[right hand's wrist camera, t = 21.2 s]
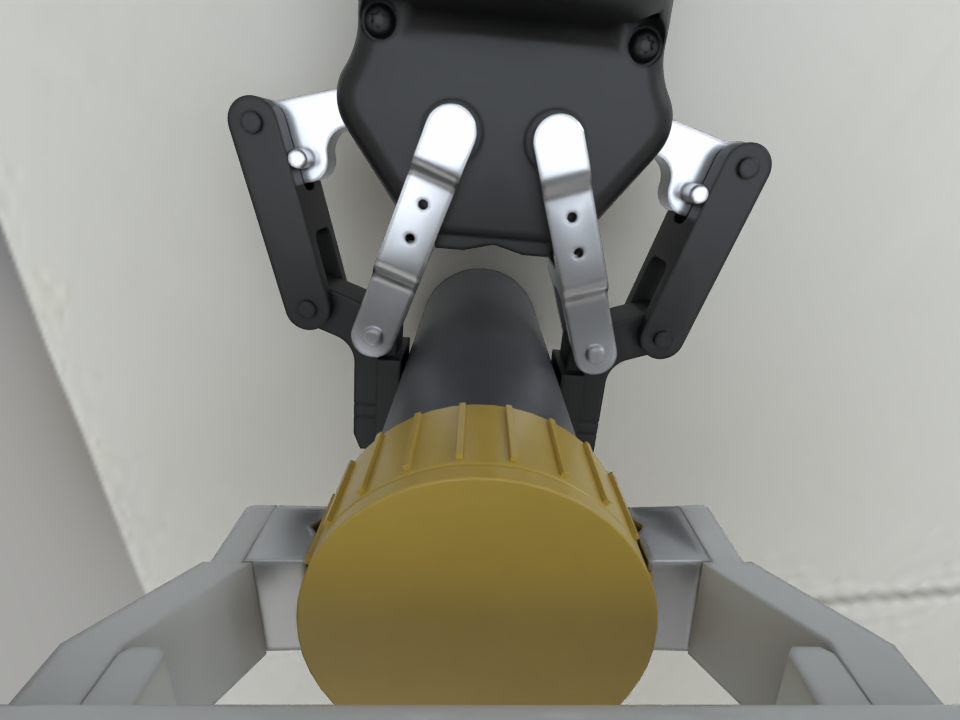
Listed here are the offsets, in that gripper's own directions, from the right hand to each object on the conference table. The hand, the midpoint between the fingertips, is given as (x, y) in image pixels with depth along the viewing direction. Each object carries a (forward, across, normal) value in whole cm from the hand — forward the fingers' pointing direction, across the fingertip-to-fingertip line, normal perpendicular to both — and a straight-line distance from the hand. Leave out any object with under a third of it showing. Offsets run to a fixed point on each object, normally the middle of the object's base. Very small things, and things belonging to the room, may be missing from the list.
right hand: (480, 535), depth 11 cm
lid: (-2, 0, 0) cm, 2 cm away
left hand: (+7, 0, -3) cm, 8 cm away
